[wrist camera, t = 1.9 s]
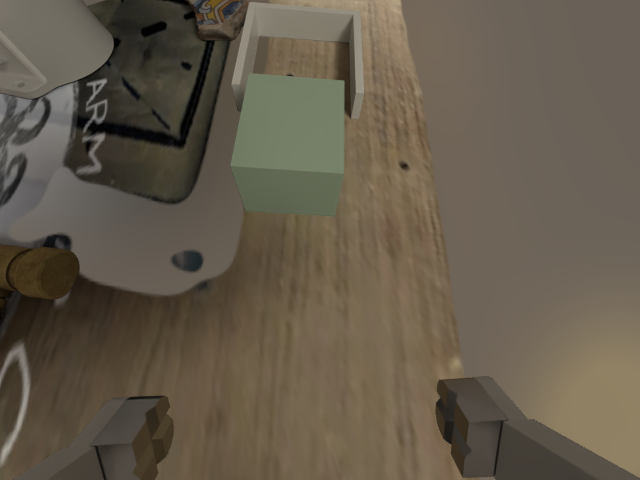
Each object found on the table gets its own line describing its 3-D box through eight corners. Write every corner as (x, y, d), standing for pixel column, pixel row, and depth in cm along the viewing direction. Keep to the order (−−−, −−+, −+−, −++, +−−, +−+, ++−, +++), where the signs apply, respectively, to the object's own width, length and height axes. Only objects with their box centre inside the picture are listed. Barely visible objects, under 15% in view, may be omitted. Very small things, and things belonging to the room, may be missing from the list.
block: (245, 211, 33) (230, 166, 26) (258, 130, 38) (248, 73, 31) (334, 217, 34) (344, 173, 26) (336, 136, 38) (344, 80, 31)
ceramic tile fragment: (167, -14, 45) (228, -30, 47) (175, 10, 48) (232, -7, 50) (201, 31, 41) (265, 11, 44) (208, 54, 44) (267, 34, 47)
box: (237, 111, 39) (231, 84, 35) (253, 31, 46) (249, 2, 42) (358, 119, 40) (364, 93, 36) (355, 39, 47) (360, 11, 43)
